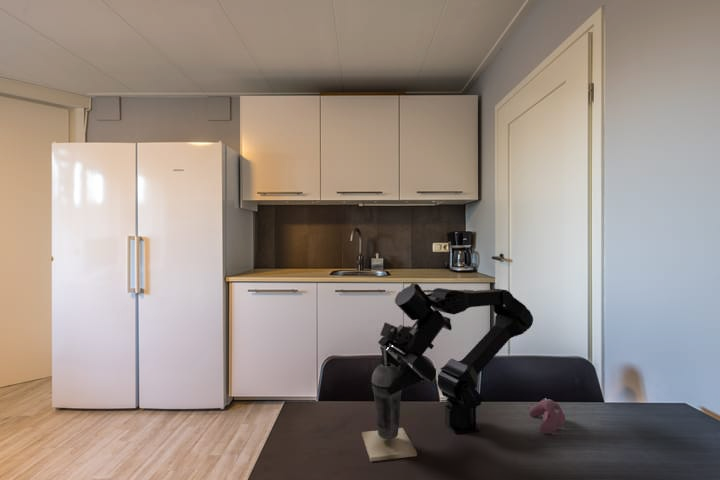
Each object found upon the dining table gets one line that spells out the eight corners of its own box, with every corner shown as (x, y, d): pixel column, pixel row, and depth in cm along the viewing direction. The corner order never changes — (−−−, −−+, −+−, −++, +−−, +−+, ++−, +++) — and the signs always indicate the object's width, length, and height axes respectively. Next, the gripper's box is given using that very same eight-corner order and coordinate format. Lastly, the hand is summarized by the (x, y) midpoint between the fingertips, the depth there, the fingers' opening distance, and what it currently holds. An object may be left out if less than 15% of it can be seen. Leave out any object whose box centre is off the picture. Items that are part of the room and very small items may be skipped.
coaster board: (402, 431, 81) (402, 427, 81) (416, 455, 71) (416, 452, 71) (361, 435, 79) (361, 432, 79) (370, 461, 70) (370, 457, 70)
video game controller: (558, 443, 78) (572, 417, 78) (539, 432, 79) (552, 406, 79) (543, 421, 88) (555, 398, 88) (526, 412, 89) (538, 389, 88)
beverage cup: (408, 428, 78) (406, 341, 78) (398, 446, 71) (396, 350, 71) (379, 422, 81) (377, 338, 81) (366, 438, 74) (365, 346, 74)
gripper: (384, 304, 87) (344, 352, 82) (422, 317, 69) (373, 380, 65) (412, 331, 89) (375, 380, 85) (455, 351, 71) (410, 413, 67)
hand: (381, 387), depth 75 cm, fingers closed on beverage cup, 7 cm apart
